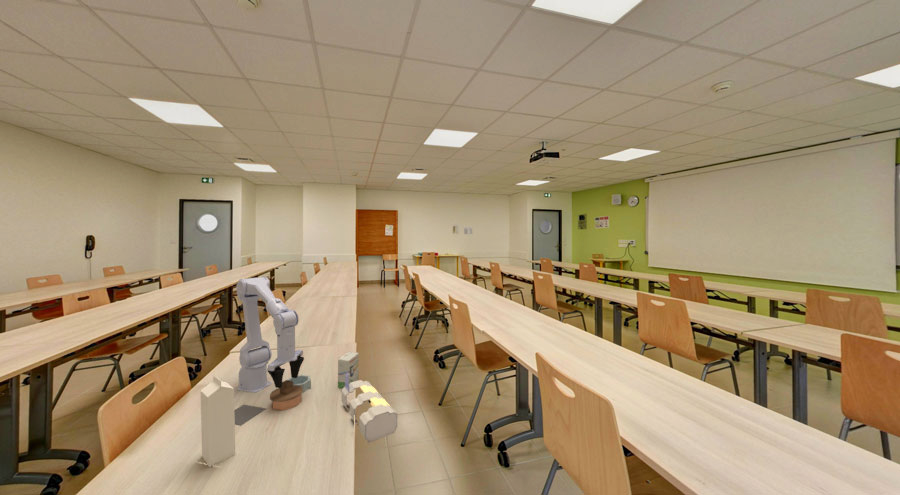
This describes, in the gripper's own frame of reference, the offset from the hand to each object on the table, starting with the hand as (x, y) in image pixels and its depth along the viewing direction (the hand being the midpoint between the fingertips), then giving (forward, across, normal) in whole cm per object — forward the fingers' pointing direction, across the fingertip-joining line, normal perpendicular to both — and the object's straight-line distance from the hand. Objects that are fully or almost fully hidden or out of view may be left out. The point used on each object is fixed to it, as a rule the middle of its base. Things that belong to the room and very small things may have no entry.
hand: (286, 382), depth 111 cm
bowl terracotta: (+8, 0, 0) cm, 8 cm away
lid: (+4, 0, 0) cm, 4 cm away
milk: (+8, -27, -2) cm, 28 cm away
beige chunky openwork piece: (+8, 0, -32) cm, 34 cm away
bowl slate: (+8, +10, +4) cm, 13 cm away
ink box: (+8, +19, -13) cm, 24 cm away
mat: (+8, -10, +9) cm, 16 cm away
